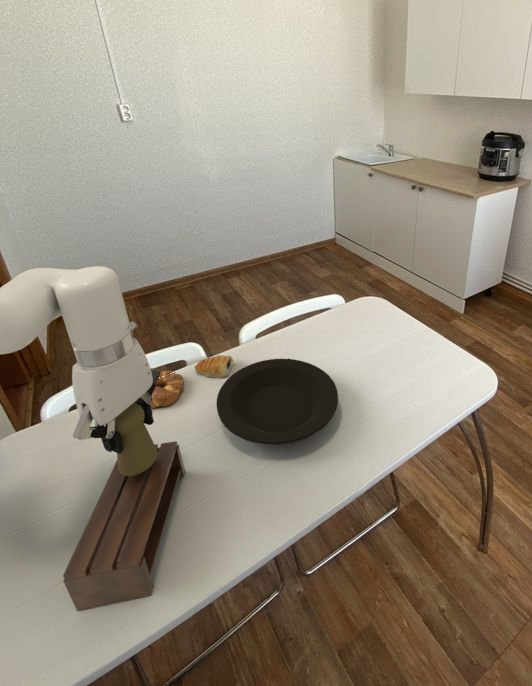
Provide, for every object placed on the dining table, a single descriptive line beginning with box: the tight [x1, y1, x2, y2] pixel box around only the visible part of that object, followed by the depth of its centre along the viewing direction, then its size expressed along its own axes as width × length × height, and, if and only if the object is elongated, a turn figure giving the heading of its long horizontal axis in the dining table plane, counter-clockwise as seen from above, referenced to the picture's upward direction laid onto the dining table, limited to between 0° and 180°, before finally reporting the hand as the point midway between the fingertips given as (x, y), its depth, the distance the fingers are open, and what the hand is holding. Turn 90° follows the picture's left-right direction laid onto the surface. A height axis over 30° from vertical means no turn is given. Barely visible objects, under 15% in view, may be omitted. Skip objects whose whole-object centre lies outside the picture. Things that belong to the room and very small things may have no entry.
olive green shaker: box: [115, 403, 158, 476], centre depth 65 cm, size 6×6×11 cm
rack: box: [62, 440, 186, 612], centre depth 63 cm, size 10×20×8 cm, turn 10°
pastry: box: [194, 354, 234, 379], centre depth 101 cm, size 9×7×4 cm
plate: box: [216, 358, 339, 446], centre depth 87 cm, size 28×24×6 cm
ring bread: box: [150, 370, 184, 409], centre depth 94 cm, size 12×11×4 cm
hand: (131, 434), depth 65 cm, fingers closed on olive green shaker, 5 cm apart
